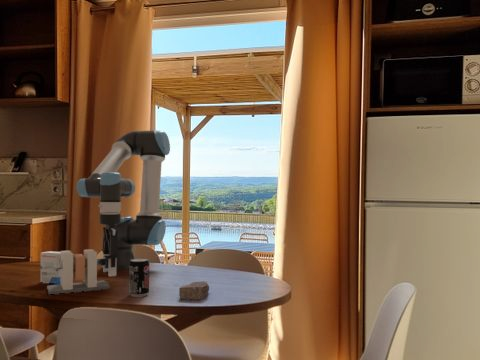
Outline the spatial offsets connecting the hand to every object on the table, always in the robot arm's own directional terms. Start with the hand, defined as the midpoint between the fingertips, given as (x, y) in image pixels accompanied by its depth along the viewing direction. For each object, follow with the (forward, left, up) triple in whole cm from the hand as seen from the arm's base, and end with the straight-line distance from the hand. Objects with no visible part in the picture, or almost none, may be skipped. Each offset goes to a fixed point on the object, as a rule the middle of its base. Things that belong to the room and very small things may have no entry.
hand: (109, 273), depth 158 cm
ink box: (+18, -16, -5) cm, 25 cm away
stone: (-22, +29, -5) cm, 37 cm away
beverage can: (-6, +19, -5) cm, 20 cm away
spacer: (+11, 0, 0) cm, 11 cm away
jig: (+11, 0, -4) cm, 12 cm away
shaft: (+7, 0, +3) cm, 8 cm away
